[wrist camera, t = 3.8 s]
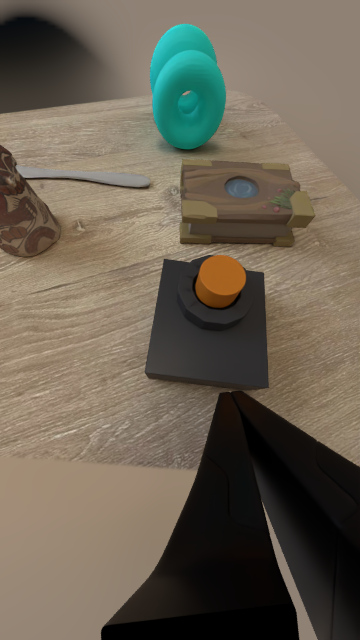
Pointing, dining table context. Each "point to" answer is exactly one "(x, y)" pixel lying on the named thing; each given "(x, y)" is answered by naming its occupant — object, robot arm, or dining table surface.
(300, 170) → the dining table surface
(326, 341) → the dining table surface
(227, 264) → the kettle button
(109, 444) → the dining table surface
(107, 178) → the butter knife
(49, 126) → the dining table surface
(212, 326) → the black button base
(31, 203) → the figurine
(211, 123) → the donuts
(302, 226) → the book
